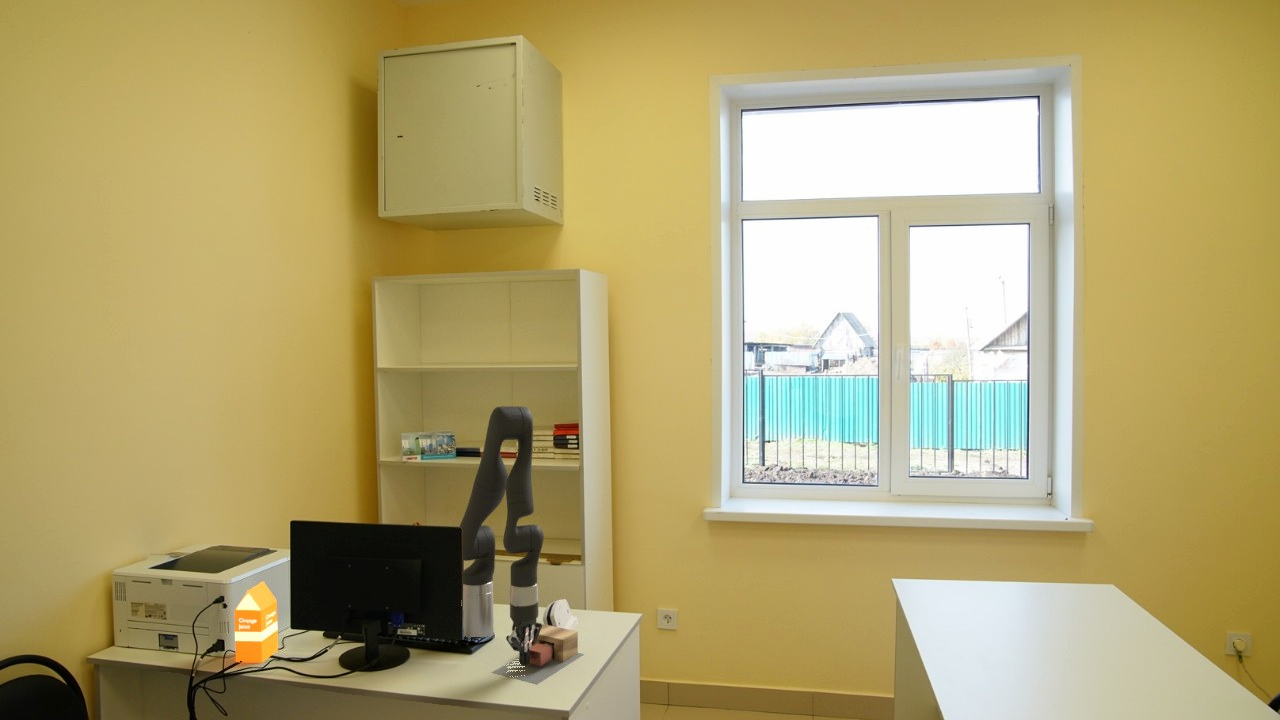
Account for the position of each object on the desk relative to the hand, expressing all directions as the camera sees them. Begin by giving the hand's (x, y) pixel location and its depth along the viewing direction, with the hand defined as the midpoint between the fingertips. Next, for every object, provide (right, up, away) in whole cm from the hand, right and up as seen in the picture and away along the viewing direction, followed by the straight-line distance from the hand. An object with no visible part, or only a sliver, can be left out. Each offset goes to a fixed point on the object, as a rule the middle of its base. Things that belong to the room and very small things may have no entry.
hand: (524, 664), depth 217 cm
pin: (+5, -1, +9) cm, 10 cm away
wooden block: (+7, -2, +11) cm, 13 cm away
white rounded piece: (+7, -1, +29) cm, 30 cm away
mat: (+3, -2, +5) cm, 6 cm away
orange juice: (-77, -2, +12) cm, 78 cm away
